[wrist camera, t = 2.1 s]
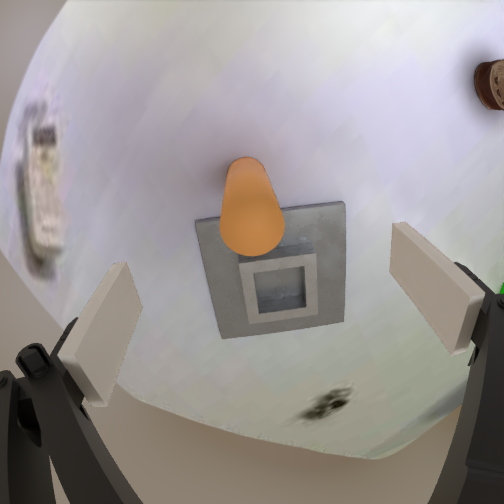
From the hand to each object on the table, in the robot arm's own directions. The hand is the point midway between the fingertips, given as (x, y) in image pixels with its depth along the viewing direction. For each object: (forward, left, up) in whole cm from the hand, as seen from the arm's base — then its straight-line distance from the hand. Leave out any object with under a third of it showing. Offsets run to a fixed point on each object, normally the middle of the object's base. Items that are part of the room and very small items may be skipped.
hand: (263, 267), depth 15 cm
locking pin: (0, 0, -19) cm, 19 cm away
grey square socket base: (+12, +2, -19) cm, 23 cm away
